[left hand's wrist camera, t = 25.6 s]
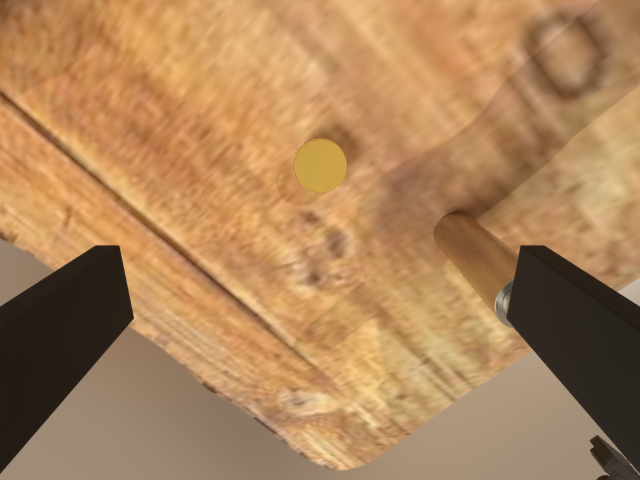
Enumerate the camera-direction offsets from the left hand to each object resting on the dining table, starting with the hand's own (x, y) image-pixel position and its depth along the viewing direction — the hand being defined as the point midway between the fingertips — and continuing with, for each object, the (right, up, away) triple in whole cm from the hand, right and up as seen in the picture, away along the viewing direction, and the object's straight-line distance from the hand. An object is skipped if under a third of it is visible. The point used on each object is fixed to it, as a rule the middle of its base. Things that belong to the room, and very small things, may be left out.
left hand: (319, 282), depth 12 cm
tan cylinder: (+15, +2, +29) cm, 32 cm away
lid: (0, +9, +24) cm, 26 cm away
